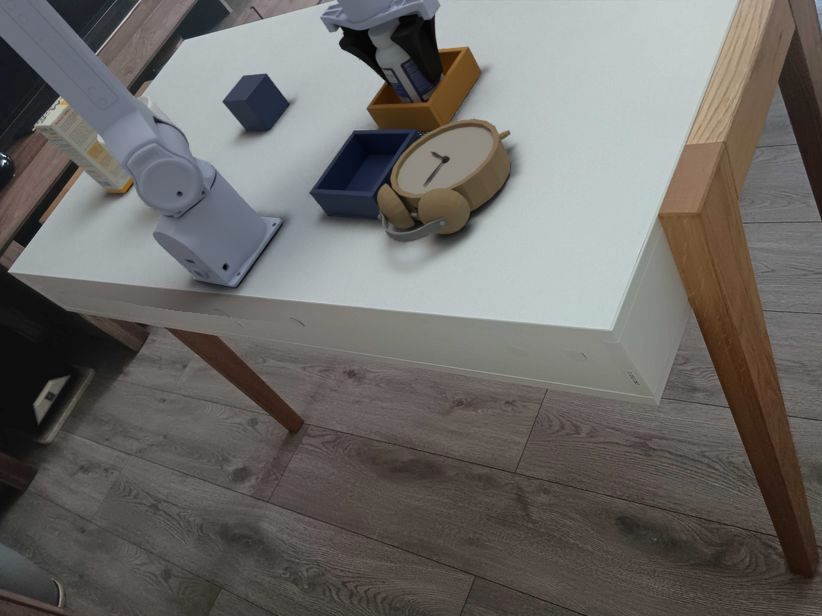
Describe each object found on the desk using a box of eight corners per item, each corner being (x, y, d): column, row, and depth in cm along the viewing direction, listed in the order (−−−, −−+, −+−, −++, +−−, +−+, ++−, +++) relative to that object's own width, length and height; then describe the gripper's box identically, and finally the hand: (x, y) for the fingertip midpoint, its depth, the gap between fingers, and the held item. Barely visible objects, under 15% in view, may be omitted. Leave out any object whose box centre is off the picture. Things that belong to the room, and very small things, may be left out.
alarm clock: (522, 117, 70) (430, 217, 63) (537, 162, 73) (451, 262, 66) (432, 117, 76) (340, 206, 69) (449, 158, 80) (363, 248, 73)
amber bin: (443, 131, 80) (428, 106, 77) (381, 132, 85) (365, 108, 83) (481, 72, 83) (468, 46, 80) (419, 76, 88) (405, 52, 86)
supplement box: (141, 153, 113) (70, 82, 103) (158, 153, 110) (87, 80, 100) (107, 194, 109) (31, 125, 100) (124, 195, 107) (47, 124, 97)
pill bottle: (453, 76, 84) (410, -1, 77) (447, 106, 81) (403, 29, 74) (411, 92, 86) (366, 18, 79) (404, 121, 83) (357, 48, 76)
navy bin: (389, 220, 75) (371, 196, 72) (327, 215, 80) (308, 192, 78) (432, 153, 78) (416, 128, 76) (370, 153, 84) (353, 129, 81)
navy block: (269, 130, 98) (244, 100, 94) (246, 130, 101) (221, 101, 97) (290, 103, 100) (266, 73, 96) (266, 104, 103) (243, 75, 99)
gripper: (425, -76, 69) (486, 48, 79) (320, -52, 78) (386, 57, 87) (387, -28, 66) (455, 94, 76) (283, -8, 75) (356, 100, 85)
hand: (416, 78), depth 82 cm, fingers closed on pill bottle, 5 cm apart
